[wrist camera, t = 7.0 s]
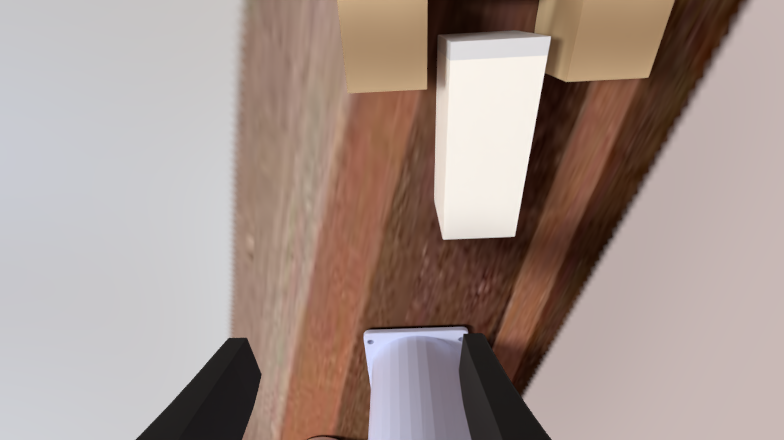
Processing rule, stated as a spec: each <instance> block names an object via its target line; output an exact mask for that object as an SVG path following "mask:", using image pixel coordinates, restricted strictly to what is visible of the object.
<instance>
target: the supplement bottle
mask: <svg viewBox="0 0 784 440" xmlns="http://www.w3.org/2000/svg"><path fill="white" fill-rule="evenodd" d="M308 440H338V439H335V438H330V437H315V438H311V439H308Z"/></svg>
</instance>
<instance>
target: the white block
mask: <svg viewBox="0 0 784 440" xmlns="http://www.w3.org/2000/svg"><path fill="white" fill-rule="evenodd" d="M550 40H551V36H546V35H540V34H534V33H528V32H522V31H516V30H512V31H495V32H477V33H459V34H441V35H438V48H437V95H436V142H435V189H434V201H435V206H436V210H437V215H438V219H439V224H440V228H441V233H442V237H443V240H446V239H471V238H496V237H515V233H516V227H517V222H518V216H519V211H520V205H521V200H522V194H523V189H524V183H525V178H526V172H527V167H528V161H529V156H530V150H531V145H532V139H533V134H534V128H535V123H536V117H537V112H538V106H539V100H540V95H541V89H542V84H543V78H544V73H545V67H546V62H547V56H548V51H549V45H550Z"/></svg>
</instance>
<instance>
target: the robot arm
mask: <svg viewBox="0 0 784 440" xmlns="http://www.w3.org/2000/svg"><path fill="white" fill-rule="evenodd" d="M364 344H365V351H366V358H367V365H368V371H369V378H370V385H371V400H370V418H369V437H368V440H551V438H550V437H549V436H548V434H547V433H546V432H545V430H544V429H543V428H542V426H541V425H540V423H539V422H538V421H537V419H536V418H535V417H534V415H533V414H532V412H531V411H530V409H529V408H528V407H527V405H526V404H525V402H524V401H523V399H522V398H521V396H520V394H519V393H518V391H517V390H516V388H515V387H514V385H513V384H512V382H511V381H510V379H509V378H508V376H507V374H506V373H505V371H504V369H503V368H502V366H501V364H500V363H499V361H498V359H497V357H496V356H495V354H494V352H493V350H492V348H491V347H490V345H489V343H488V341H487V339H486V337H485V335H483V334H482V333H475V334H468V330H467V328H465V327H439V328H409V329H379V330H367V331H365V332H364ZM260 379H261V372H260V369H259V367H258V364H257V362H256V359H255V357H254V354H253V352H252V349H251V347H250V344H249V342H248V339H247V338H229V339H227V341H226V342H225V343H224V344H223V345H222V346H221V347H220V349H219V350H218V351H217V352H216V353H215V354H214V355H213V357H212V358H211V359H210V360H209V361H208V362H207V363H206V365H205V366H204V367H203V368H202V369H201V370H200V372H199V373H198V374H197V375H196V376H195V377H194V378H193V379H192V380H191V382H190V383H189V384H188V385H187V386H186V387H185V388H184V389H183V390H182V392H181V393H180V394H179V395H178V396H177V397H176V398H175V399H174V400H173V401H172V403H171V404H170V405H169V406H168V407H167V408H166V409H165V410H164V411H163V412H162V413H161V414H160V415H159V416H158V417H157V418H156V419H155V420H154V421H153V422H152V423H151V424H150V426H149V427H148V428H147V429H146V430H145V431H144V432H143V433H142V434H141V435H140V436H139V437H138V438H137V439H136V440H242V438H243V435H244V432H245V430H246V427H247V424H248V421H249V419H250V416H251V413H252V410H253V407H254V404H255V400H256V396H257V392H258V388H259V383H260Z"/></svg>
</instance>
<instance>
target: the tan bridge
mask: <svg viewBox="0 0 784 440" xmlns="http://www.w3.org/2000/svg"><path fill="white" fill-rule="evenodd" d="M674 1H675V0H539V6H538V13H537V19H536V25H535V32H534V34H540V35H546V36H551V40H550V45H549V51H548V56H547V62H546V67H545V73H546V74H549V75H551V76H553V77H556V78H558V79H561V80H563V81H565V82H575V81H594V80H614V79H633V78H648V77H649V74H650V71H651V68H652V65H653V63H654V60H655V57H656V54H657V51H658V48H659V45H660V42H661V39H662V36H663V33H664V30H665V27H666V24H667V21H668V18H669V15H670V12H671V9H672V6H673V4H674ZM337 4H338V13H339V21H340V30H341V39H342V47H343V56H344V65H345V74H346V82H347V91H348V93H362V92H381V91H401V90H420V89H427V4H428V0H337Z"/></svg>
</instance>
